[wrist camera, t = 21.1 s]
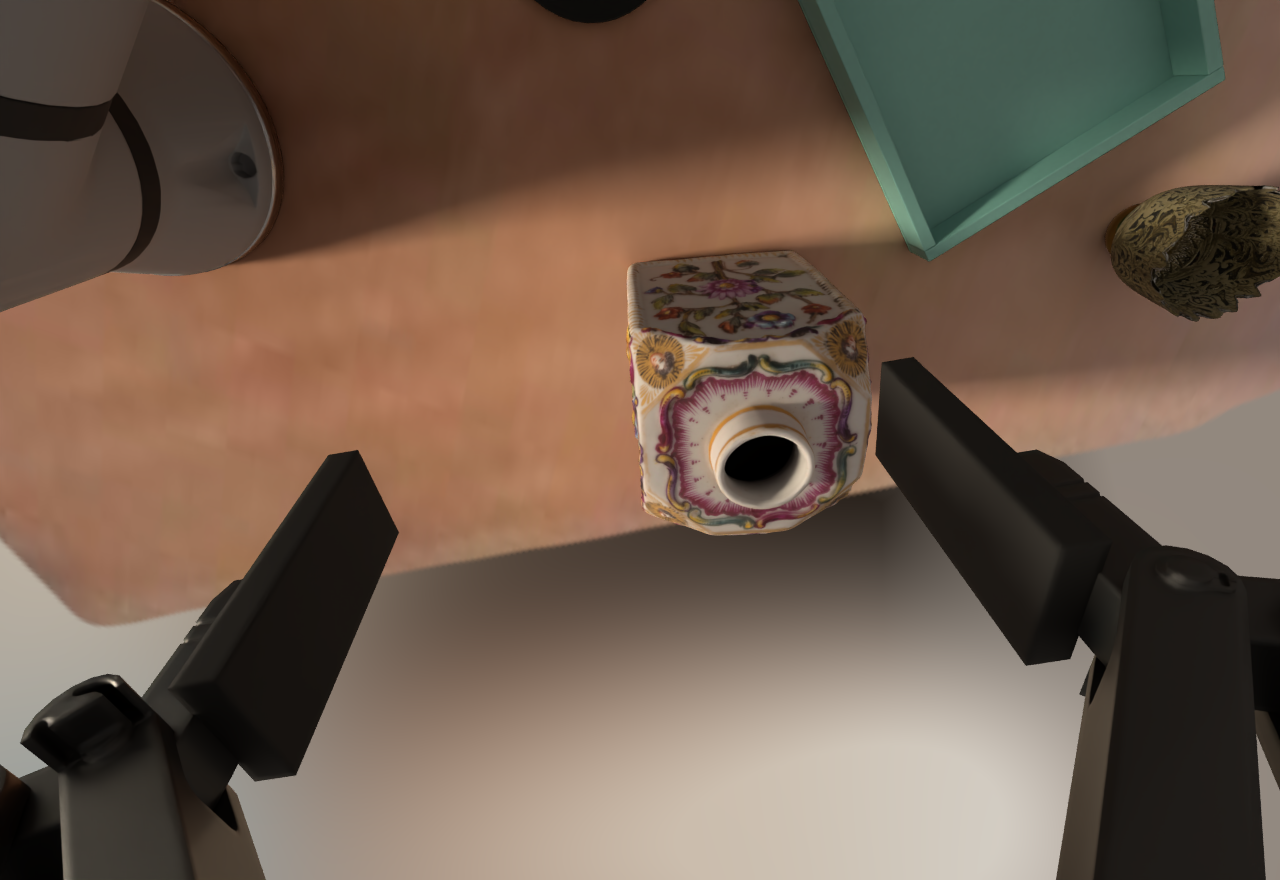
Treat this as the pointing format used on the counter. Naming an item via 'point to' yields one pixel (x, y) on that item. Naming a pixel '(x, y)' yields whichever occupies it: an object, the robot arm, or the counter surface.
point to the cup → (1198, 247)
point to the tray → (1003, 94)
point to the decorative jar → (745, 390)
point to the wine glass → (590, 9)
